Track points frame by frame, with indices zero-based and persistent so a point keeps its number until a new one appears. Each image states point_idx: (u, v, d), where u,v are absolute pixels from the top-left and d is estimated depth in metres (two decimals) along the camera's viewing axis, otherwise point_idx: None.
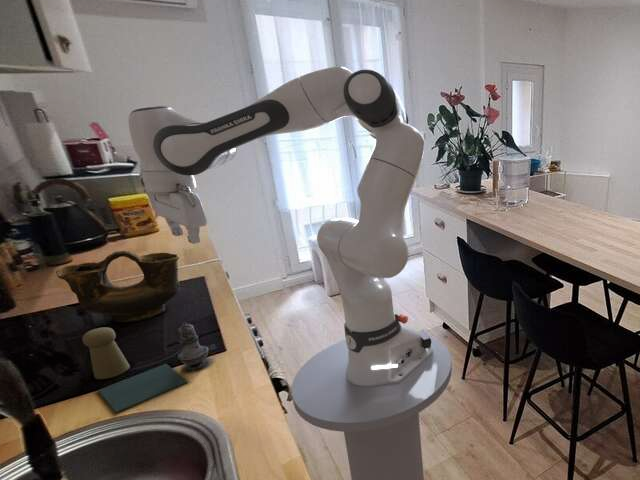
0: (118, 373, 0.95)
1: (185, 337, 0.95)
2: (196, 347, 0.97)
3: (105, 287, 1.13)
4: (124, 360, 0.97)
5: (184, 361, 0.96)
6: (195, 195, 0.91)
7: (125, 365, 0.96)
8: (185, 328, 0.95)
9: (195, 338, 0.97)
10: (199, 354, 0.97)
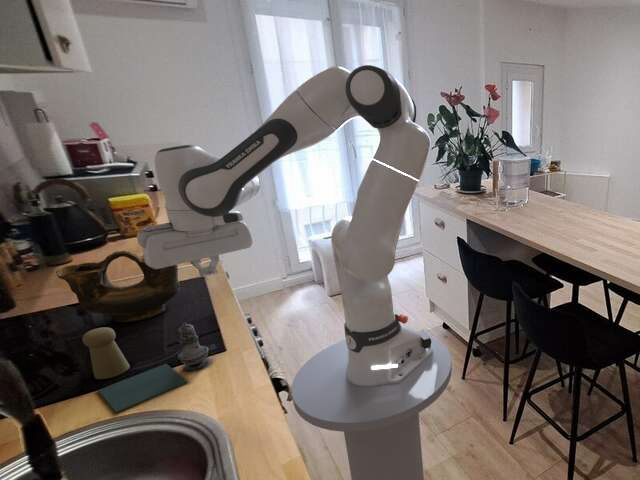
0: (118, 373, 0.95)
1: (185, 337, 0.95)
2: (196, 347, 0.97)
3: (105, 287, 1.13)
4: (124, 360, 0.97)
5: (184, 361, 0.96)
6: (149, 237, 0.86)
7: (125, 365, 0.96)
8: (185, 328, 0.95)
9: (195, 338, 0.97)
10: (199, 354, 0.97)
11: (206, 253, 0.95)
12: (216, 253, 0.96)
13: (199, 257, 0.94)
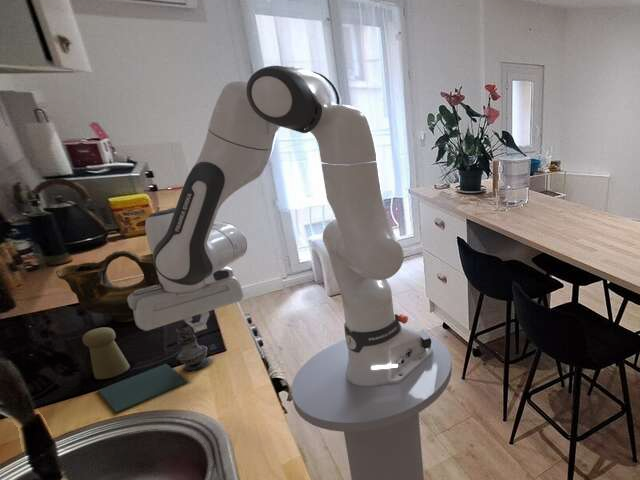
0: (118, 373, 0.95)
1: (183, 338, 0.95)
2: (195, 346, 0.97)
3: (105, 287, 1.13)
4: (124, 360, 0.97)
5: (183, 361, 0.96)
6: (139, 300, 0.87)
7: (125, 365, 0.96)
8: (182, 329, 0.94)
9: (193, 338, 0.96)
10: (198, 354, 0.97)
11: (197, 311, 0.96)
12: (207, 310, 0.97)
13: (189, 315, 0.95)
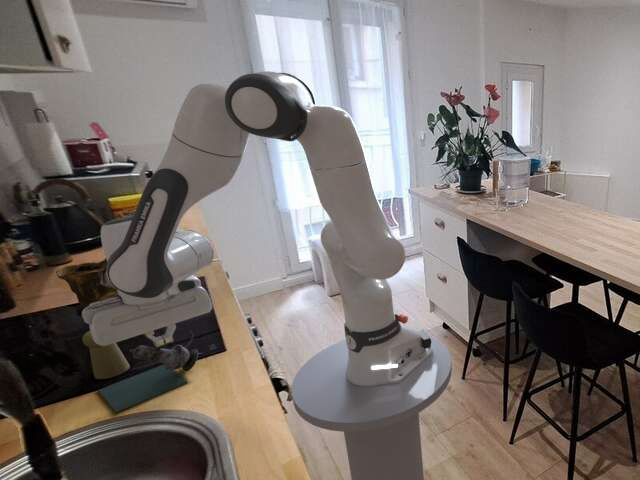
0: (118, 373, 0.95)
1: (147, 358, 0.90)
2: (168, 355, 0.93)
3: (105, 287, 1.13)
4: (124, 360, 0.97)
5: (173, 369, 0.94)
6: (95, 314, 0.81)
7: (125, 365, 0.96)
8: (136, 354, 0.88)
9: (157, 352, 0.91)
10: (177, 359, 0.94)
11: (160, 323, 0.90)
12: (171, 322, 0.92)
13: (152, 328, 0.89)
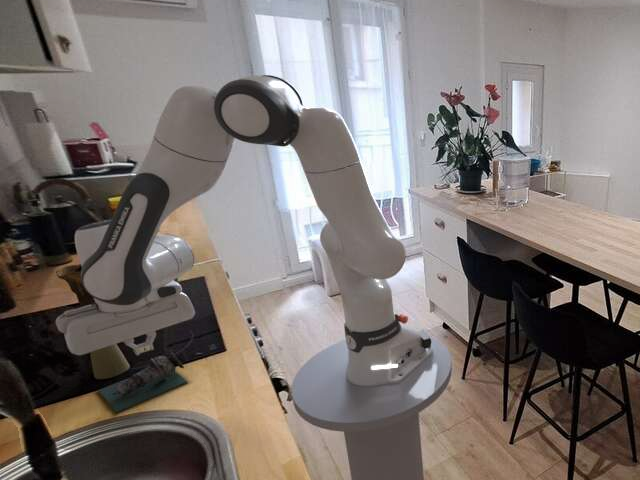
0: (118, 373, 0.95)
1: None
2: (151, 376, 0.90)
3: None
4: (124, 360, 0.97)
5: None
6: (70, 323, 0.79)
7: (125, 365, 0.96)
8: (122, 394, 0.87)
9: (138, 382, 0.89)
10: (162, 374, 0.91)
11: (140, 331, 0.87)
12: (152, 329, 0.89)
13: (131, 336, 0.86)
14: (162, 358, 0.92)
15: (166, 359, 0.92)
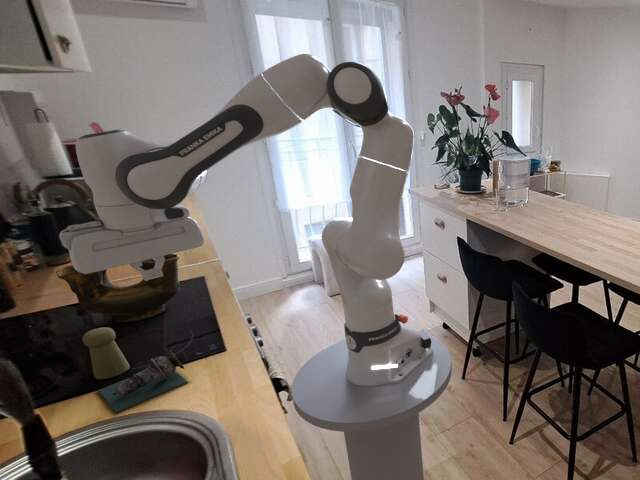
0: (118, 373, 0.95)
1: None
2: (151, 377, 0.90)
3: (105, 287, 1.13)
4: (124, 360, 0.97)
5: None
6: (74, 238, 0.75)
7: (125, 365, 0.96)
8: None
9: (138, 383, 0.89)
10: (162, 375, 0.91)
11: (148, 254, 0.83)
12: (160, 254, 0.85)
13: (139, 259, 0.82)
14: (163, 359, 0.92)
15: (166, 360, 0.92)
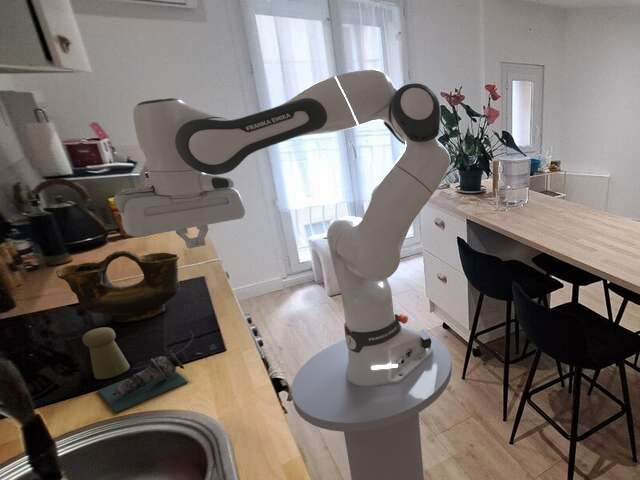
0: (118, 373, 0.95)
1: None
2: (151, 377, 0.90)
3: (105, 287, 1.13)
4: (124, 360, 0.97)
5: None
6: (128, 201, 0.77)
7: (125, 365, 0.96)
8: None
9: (138, 383, 0.89)
10: (162, 375, 0.91)
11: (193, 222, 0.85)
12: (204, 222, 0.87)
13: (185, 226, 0.84)
14: (163, 359, 0.92)
15: (167, 360, 0.92)
